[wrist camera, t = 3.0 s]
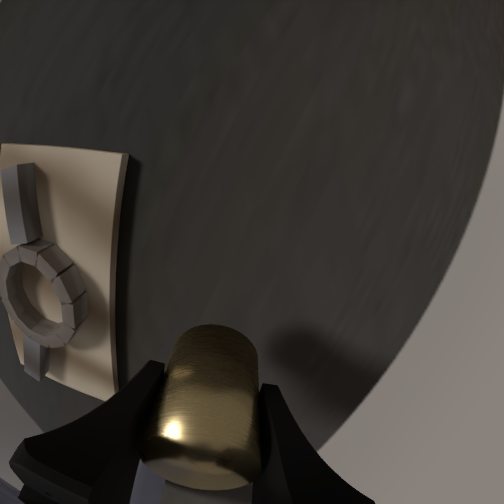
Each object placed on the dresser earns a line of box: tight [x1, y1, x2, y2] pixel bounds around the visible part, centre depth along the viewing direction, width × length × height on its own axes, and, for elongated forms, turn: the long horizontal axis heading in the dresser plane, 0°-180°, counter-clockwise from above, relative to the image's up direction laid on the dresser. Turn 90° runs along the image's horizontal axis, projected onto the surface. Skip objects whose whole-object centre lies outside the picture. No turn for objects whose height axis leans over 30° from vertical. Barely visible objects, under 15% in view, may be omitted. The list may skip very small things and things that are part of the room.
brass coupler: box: [138, 324, 261, 490], centre depth 10 cm, size 4×4×6 cm
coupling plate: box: [0, 143, 129, 401], centre depth 17 cm, size 20×11×3 cm, turn 167°
